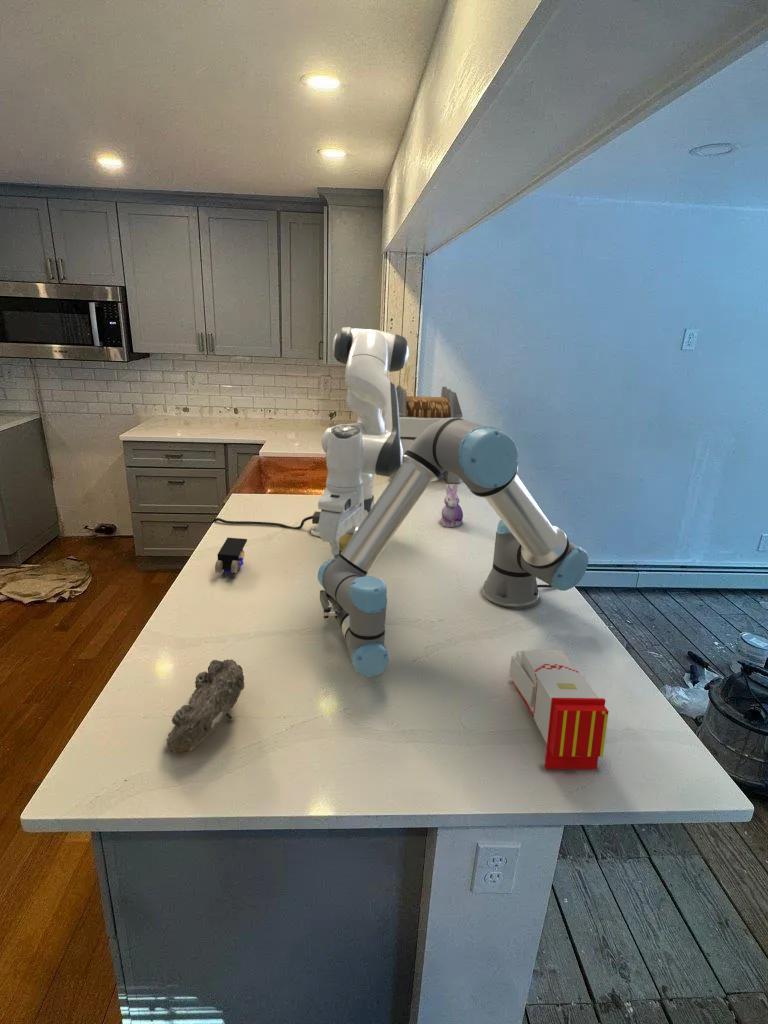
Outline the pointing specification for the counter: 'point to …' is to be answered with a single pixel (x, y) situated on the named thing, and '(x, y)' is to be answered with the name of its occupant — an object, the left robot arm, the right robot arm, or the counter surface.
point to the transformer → (425, 417)
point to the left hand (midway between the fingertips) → (343, 546)
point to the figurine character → (230, 556)
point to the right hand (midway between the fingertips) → (339, 579)
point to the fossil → (206, 705)
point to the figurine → (451, 508)
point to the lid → (344, 541)
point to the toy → (561, 708)
